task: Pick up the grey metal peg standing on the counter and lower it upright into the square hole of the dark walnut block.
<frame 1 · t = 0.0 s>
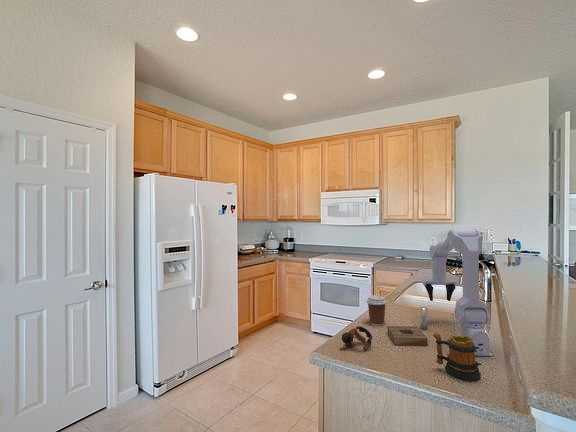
hand: (439, 300, 135), 10 cm above the worktop, tool pointing down, fingers open, 7 cm apart
peg: (424, 328, 128), on the worktop
brown curled shape: (355, 347, 111), on the worktop
hole block: (406, 339, 117), on the worktop
mug: (457, 372, 91), on the worktop
coffee cup: (377, 323, 136), on the worktop
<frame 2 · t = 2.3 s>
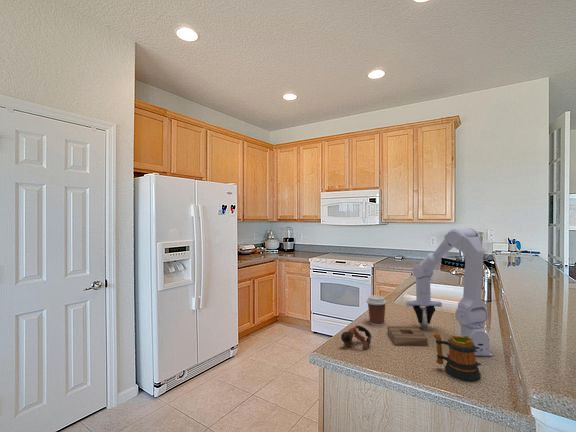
hand: (424, 323, 128), 2 cm above the worktop, tool pointing down, fingers closed on peg, 3 cm apart
peg: (424, 328, 128), on the worktop, touching gripper
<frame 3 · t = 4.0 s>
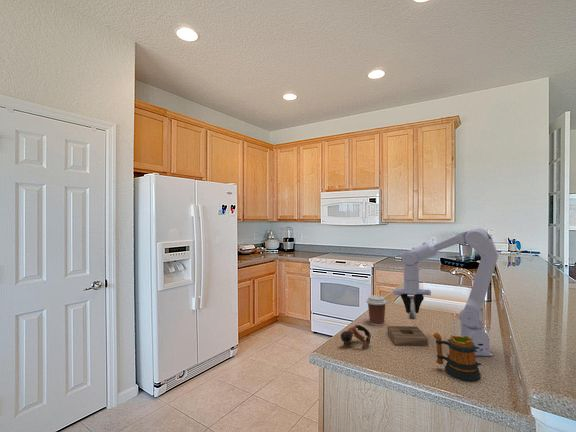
hand: (412, 312, 121), 9 cm above the worktop, tool pointing down, fingers closed on peg, 3 cm apart
peg: (412, 318, 121), point 7 cm above the worktop, touching gripper
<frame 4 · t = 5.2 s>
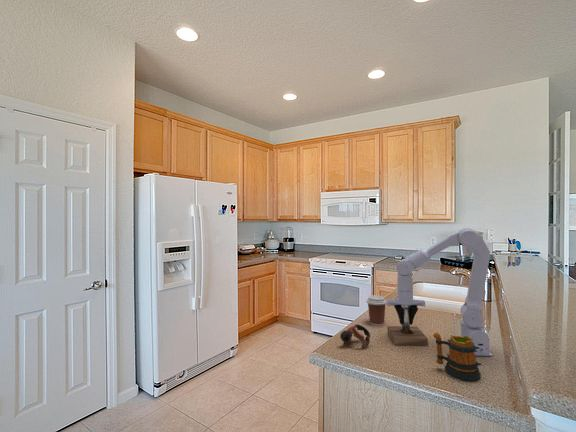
hand: (406, 323, 117), 6 cm above the worktop, tool pointing down, fingers closed on peg, 3 cm apart
peg: (406, 329, 117), point 4 cm above the worktop, touching gripper
when the fingers open (4 cm above the worktop, at t = 6.0 s): peg drops 1 cm, resting in hole block.
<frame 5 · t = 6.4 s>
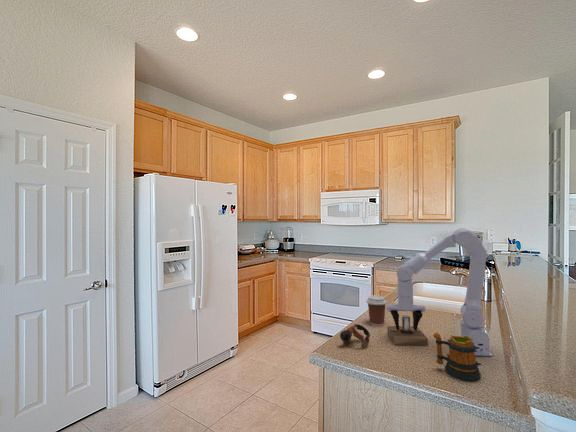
hand: (406, 329, 117), 4 cm above the worktop, tool pointing down, fingers open, 6 cm apart
peg: (406, 339, 117), resting in hole block
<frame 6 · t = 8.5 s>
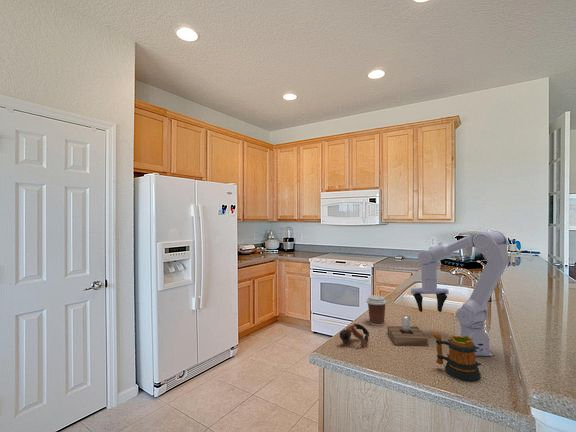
hand: (430, 311, 122), 9 cm above the worktop, tool pointing down, fingers open, 7 cm apart
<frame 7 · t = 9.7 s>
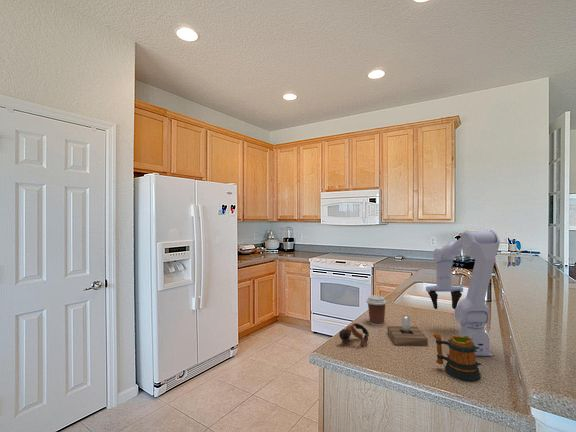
hand: (444, 308, 125), 9 cm above the worktop, tool pointing down, fingers open, 7 cm apart
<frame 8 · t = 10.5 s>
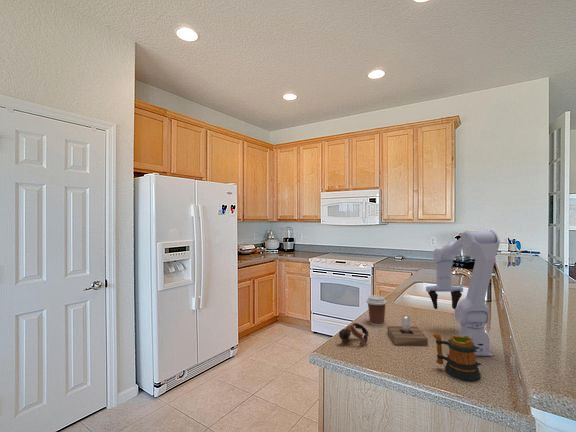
hand: (444, 308, 125), 9 cm above the worktop, tool pointing down, fingers open, 7 cm apart
at the end: peg 0.2 cm off-centre on the hole block, point 0.0 cm above the hole block's base; peg tilted 0°; the gripper is holding nothing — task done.
